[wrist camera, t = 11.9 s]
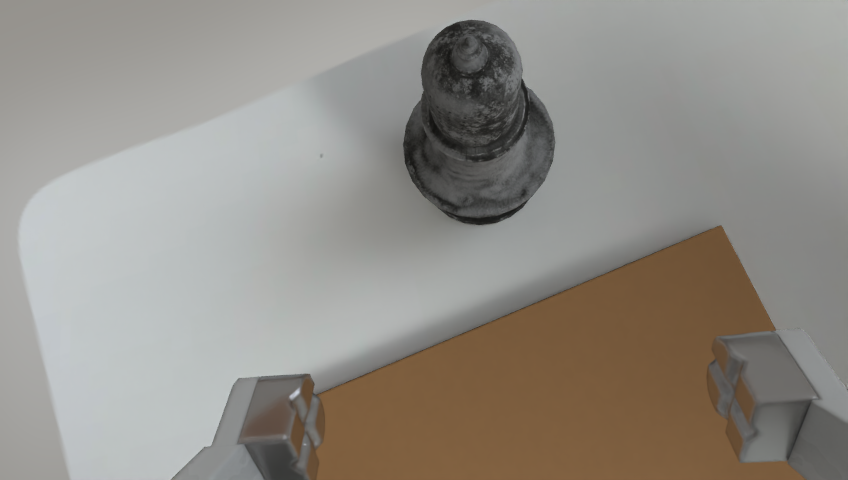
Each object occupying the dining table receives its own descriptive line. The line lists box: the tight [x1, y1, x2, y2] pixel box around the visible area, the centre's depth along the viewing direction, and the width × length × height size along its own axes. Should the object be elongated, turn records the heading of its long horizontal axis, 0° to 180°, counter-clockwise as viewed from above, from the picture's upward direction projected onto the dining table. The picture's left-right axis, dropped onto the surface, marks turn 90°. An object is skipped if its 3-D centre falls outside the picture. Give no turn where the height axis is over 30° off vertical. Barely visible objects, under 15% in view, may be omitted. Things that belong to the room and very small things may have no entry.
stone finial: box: [403, 20, 555, 225], centre depth 20 cm, size 6×6×12 cm
